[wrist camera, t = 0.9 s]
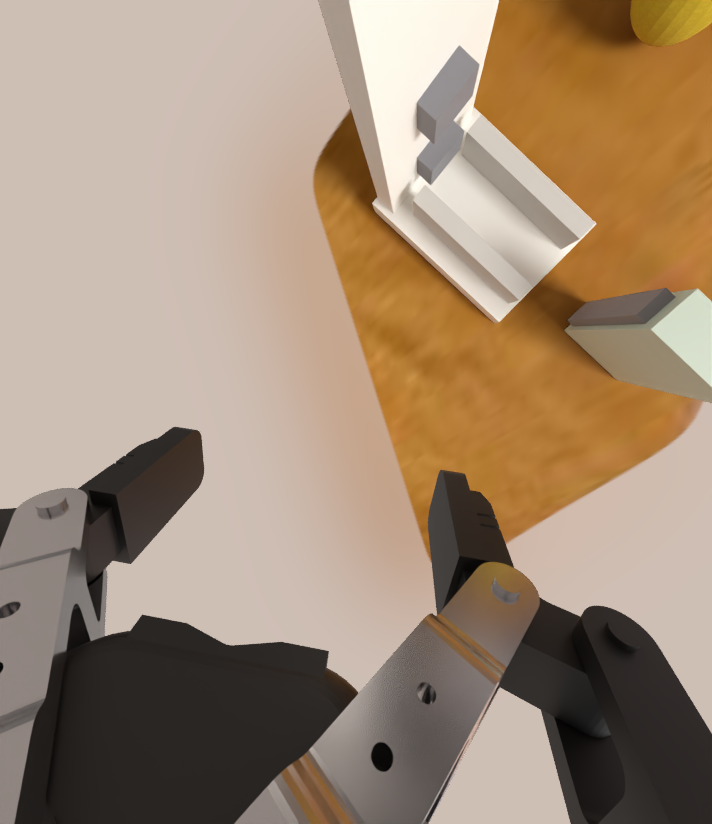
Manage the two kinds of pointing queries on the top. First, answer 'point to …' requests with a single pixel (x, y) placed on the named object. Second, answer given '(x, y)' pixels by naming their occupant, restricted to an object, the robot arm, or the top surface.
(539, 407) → the top surface
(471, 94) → the white tall l-shaped piece
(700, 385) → the pale green slab
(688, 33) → the lemon
